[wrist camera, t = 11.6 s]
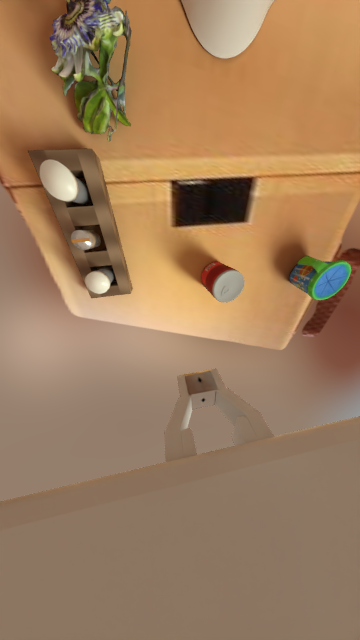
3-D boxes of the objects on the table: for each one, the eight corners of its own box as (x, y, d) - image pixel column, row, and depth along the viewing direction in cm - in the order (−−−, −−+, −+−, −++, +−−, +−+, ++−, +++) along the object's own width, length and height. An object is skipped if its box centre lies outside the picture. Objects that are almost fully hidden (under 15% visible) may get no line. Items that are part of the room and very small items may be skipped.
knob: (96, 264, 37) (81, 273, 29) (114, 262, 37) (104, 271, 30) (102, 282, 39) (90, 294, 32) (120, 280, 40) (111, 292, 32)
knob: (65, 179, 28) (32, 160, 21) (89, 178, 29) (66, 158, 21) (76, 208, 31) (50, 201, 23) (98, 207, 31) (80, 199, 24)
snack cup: (320, 278, 50) (354, 288, 41) (291, 299, 52) (318, 312, 44) (308, 240, 42) (348, 243, 34) (276, 267, 45) (305, 275, 37)
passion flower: (97, 82, 27) (84, -90, 16) (144, 140, 30) (161, 31, 19) (47, 104, 23) (-14, -93, 12) (106, 167, 26) (99, 53, 16)
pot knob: (81, 231, 31) (66, 230, 25) (97, 229, 31) (86, 229, 26) (88, 247, 32) (75, 251, 27) (103, 246, 33) (93, 249, 27)
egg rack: (43, 160, 27) (27, 150, 23) (99, 158, 28) (91, 148, 24) (96, 292, 41) (91, 298, 37) (132, 288, 42) (130, 293, 38)
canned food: (197, 286, 44) (208, 300, 35) (205, 258, 40) (220, 266, 31) (219, 290, 46) (236, 304, 37) (229, 264, 42) (250, 273, 33)
